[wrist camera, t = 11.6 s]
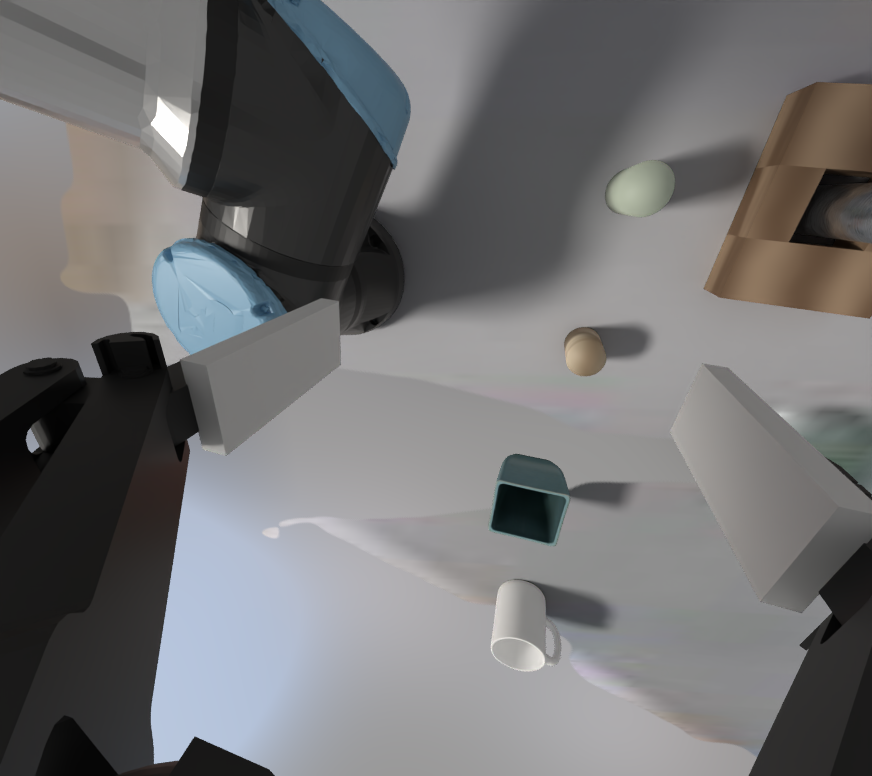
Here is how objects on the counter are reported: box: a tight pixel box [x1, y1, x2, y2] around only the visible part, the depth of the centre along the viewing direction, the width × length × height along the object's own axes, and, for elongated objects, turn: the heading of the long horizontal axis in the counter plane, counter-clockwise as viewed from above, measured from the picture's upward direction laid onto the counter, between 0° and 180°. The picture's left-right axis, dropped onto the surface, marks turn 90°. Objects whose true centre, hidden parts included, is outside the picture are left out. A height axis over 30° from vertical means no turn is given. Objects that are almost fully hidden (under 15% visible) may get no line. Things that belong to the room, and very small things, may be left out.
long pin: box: [794, 183, 872, 244], centre depth 28 cm, size 4×4×12 cm
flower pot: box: [488, 454, 570, 546], centre depth 50 cm, size 9×9×9 cm
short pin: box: [564, 327, 606, 376], centre depth 42 cm, size 4×4×5 cm
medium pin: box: [605, 160, 675, 217], centre depth 33 cm, size 4×4×8 cm
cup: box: [491, 580, 561, 671], centre depth 61 cm, size 8×12×10 cm
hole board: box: [704, 82, 872, 318], centre depth 32 cm, size 12×16×4 cm
